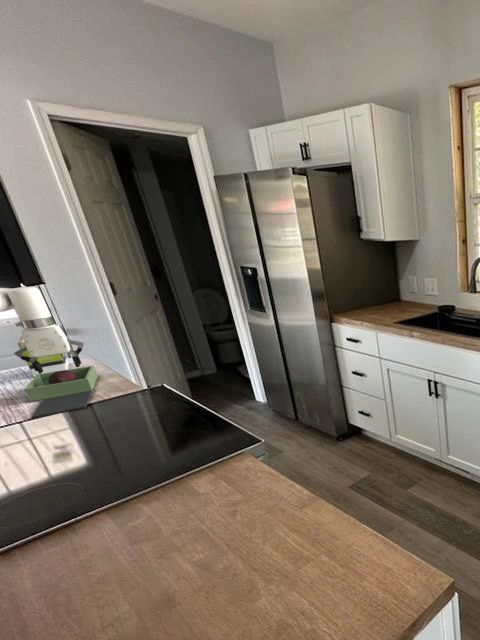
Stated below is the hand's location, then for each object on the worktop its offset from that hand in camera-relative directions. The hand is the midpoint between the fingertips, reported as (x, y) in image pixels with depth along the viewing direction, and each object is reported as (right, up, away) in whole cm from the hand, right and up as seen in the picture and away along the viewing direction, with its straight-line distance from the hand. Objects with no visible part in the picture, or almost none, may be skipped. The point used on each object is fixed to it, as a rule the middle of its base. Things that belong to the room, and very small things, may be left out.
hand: (60, 369), depth 150 cm
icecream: (0, -7, +3) cm, 7 cm away
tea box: (-27, 0, +21) cm, 34 cm away
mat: (+14, -12, -12) cm, 22 cm away
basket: (0, -7, +2) cm, 7 cm away
